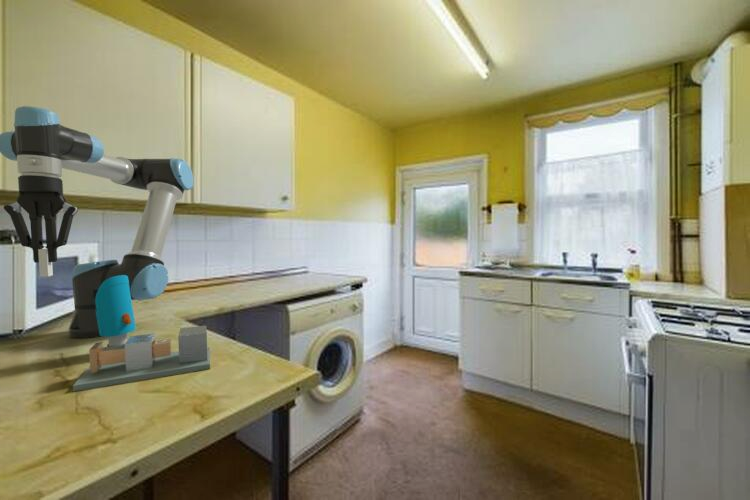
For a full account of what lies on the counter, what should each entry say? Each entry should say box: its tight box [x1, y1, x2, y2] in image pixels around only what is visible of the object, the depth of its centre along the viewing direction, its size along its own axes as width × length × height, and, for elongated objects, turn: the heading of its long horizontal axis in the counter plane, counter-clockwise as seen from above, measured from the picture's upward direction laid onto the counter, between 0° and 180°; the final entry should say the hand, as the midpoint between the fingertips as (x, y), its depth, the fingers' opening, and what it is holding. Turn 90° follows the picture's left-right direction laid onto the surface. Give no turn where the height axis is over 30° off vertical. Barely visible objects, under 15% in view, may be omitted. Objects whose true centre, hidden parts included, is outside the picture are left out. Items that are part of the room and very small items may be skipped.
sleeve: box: [125, 333, 156, 372], centre depth 82 cm, size 7×5×6 cm
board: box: [72, 346, 211, 392], centre depth 83 cm, size 13×26×1 cm, turn 116°
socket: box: [177, 325, 208, 365], centre depth 86 cm, size 8×6×7 cm
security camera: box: [93, 275, 137, 347], centre depth 93 cm, size 8×21×10 cm
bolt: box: [88, 338, 172, 373], centre depth 81 cm, size 5×15×5 cm, turn 116°
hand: (46, 276), depth 82 cm, fingers closed
